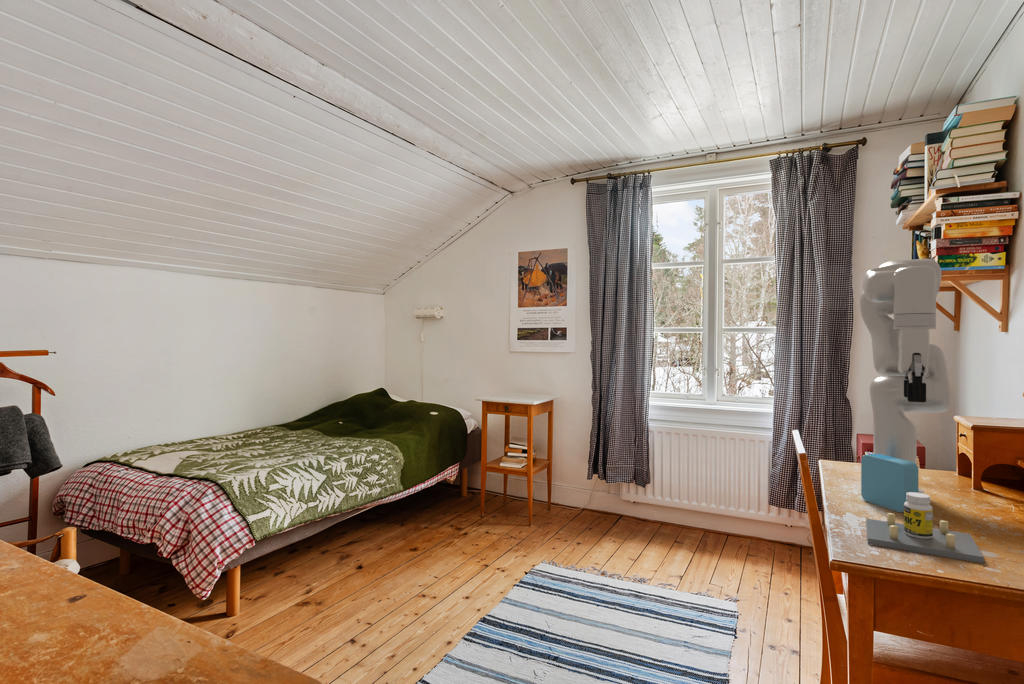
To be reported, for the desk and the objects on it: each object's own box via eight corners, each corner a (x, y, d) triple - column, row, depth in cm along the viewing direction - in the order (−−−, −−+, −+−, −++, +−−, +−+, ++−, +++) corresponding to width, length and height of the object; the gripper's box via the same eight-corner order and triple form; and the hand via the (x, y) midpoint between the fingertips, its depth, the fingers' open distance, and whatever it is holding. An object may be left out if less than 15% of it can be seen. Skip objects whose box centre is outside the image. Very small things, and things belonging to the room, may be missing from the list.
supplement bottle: (898, 532, 112) (897, 492, 112) (914, 529, 114) (913, 490, 114) (922, 540, 108) (921, 499, 108) (938, 537, 109) (938, 496, 109)
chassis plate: (866, 523, 121) (866, 507, 121) (969, 539, 112) (969, 521, 112) (867, 543, 110) (867, 525, 110) (983, 563, 100) (983, 543, 100)
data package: (919, 512, 129) (919, 462, 129) (903, 514, 128) (903, 464, 128) (875, 498, 141) (875, 452, 141) (860, 499, 140) (860, 453, 140)
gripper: (891, 323, 128) (891, 395, 129) (896, 322, 114) (896, 402, 114) (931, 323, 124) (931, 396, 125) (941, 321, 110) (941, 404, 110)
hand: (914, 399), depth 119 cm, fingers open, 9 cm apart
